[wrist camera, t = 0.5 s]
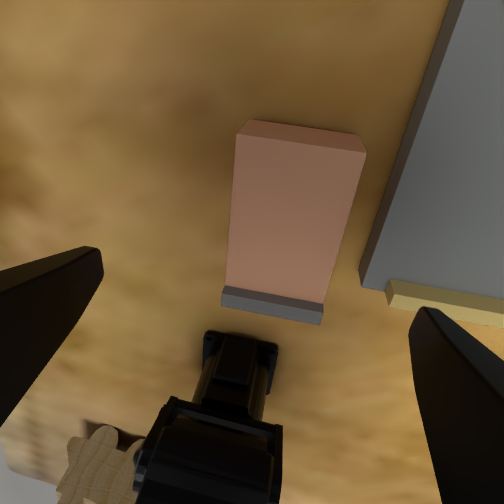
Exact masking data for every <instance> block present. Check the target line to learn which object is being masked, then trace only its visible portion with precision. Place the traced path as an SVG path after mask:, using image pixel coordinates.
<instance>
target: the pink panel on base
mask: <svg viewBox="0 0 504 504" xmlns="http://www.w3.org/2000/svg"><path fill="white" fill-rule="evenodd" d="M366 155H367V152H366V150H365V148H364V145H363V143H362V141H361V138H360V136H359V135H356V134H349V133H342V132H335V131H328V130H321V129H315V128H308V127H301V126H294V125H287V124H280V123H273V122H266V121H260V120H253V119H250V120H249V121H248V122H247V123H246V124H245V125H244V126H243V127H242V128H241V129H240V130H239V131H238V133H237V134H236V146H235V159H234V173H233V186H232V199H231V212H230V225H229V238H228V251H227V265H226V278H225V286H224V289H223V291H222V297H221V306H223V307H228V308H233V309H238V310H243V311H249V312H254V313H259V314H264V315H269V316H274V317H279V318H284V319H289V320H294V321H299V322H305V323H310V324H315V325H320V323H321V319H322V316H323V303H324V300H325V296H326V293H327V289H328V286H329V282H330V279H331V275H332V272H333V269H334V265H335V262H336V258H337V255H338V251H339V248H340V244H341V241H342V238H343V234H344V231H345V227H346V224H347V220H348V217H349V213H350V210H351V207H352V203H353V200H354V196H355V193H356V189H357V186H358V182H359V179H360V176H361V172H362V169H363V165H364V162H365V158H366Z"/></svg>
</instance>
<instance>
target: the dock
mask: <svg viewBox="0 0 504 504" xmlns="http://www.w3.org/2000/svg"><path fill="white" fill-rule="evenodd" d="M358 271H359V276H360V282H361V287H363V288H368V289H374V290H379V291H385V294H386V297H387V301H388V305H389V307H392V308H398V309H403V310H408V311H414V312H418V310H419V308H420V307H422V306H426V307H432V308H437V309H439V310H440V311H442V312H443V313H444V314H445V315H447V316H448V317H449V318H451V319H456V320H461V321H467V322H472V323H477V324H483V325H488V326H493V327H499V328H504V0H450V2H449V5H448V8H447V11H446V14H445V17H444V20H443V23H442V26H441V29H440V32H439V35H438V38H437V40H436V43H435V46H434V49H433V52H432V55H431V58H430V61H429V64H428V67H427V70H426V73H425V76H424V79H423V82H422V85H421V87H420V90H419V93H418V96H417V99H416V102H415V105H414V108H413V111H412V114H411V117H410V120H409V123H408V126H407V129H406V131H405V134H404V137H403V140H402V143H401V146H400V149H399V152H398V155H397V158H396V161H395V164H394V167H393V170H392V173H391V175H390V178H389V181H388V184H387V187H386V190H385V193H384V196H383V199H382V202H381V205H380V208H379V211H378V214H377V217H376V219H375V222H374V225H373V228H372V231H371V234H370V237H369V240H368V243H367V246H366V249H365V252H364V255H363V258H362V261H361V263H360V266H359V269H358Z"/></svg>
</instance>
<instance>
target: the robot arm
mask: <svg viewBox="0 0 504 504" xmlns="http://www.w3.org/2000/svg"><path fill="white" fill-rule="evenodd" d="M103 276H104V269H103V263H102V256H101V252H100V250H99V249H98V248H94V247H89V246H82V247H79V248H75V249H72V250H69V251H65V252H62V253H59V254H55V255H52V256H49V257H45V258H42V259H39V260H35V261H32V262H29V263H25V264H22V265H19V266H15V267H12V268H9V269H5V270H2V271H0V427H1V426H2V424H3V423H4V422H5V420H6V419H7V418H8V416H9V415H10V414H11V412H12V411H13V410H14V408H15V407H16V405H17V404H18V403H19V401H20V400H21V399H22V397H23V396H24V395H25V393H26V392H27V390H28V389H29V388H30V386H31V385H32V384H33V382H34V381H35V380H36V378H37V377H38V376H39V374H40V373H41V371H42V370H43V369H44V367H45V366H46V365H47V363H48V362H49V361H50V359H51V358H52V356H53V355H54V354H55V352H56V351H57V350H58V348H59V347H60V346H61V344H62V343H63V342H64V340H65V339H66V337H67V336H68V335H69V333H70V332H71V331H72V329H73V328H74V326H75V325H76V324H77V322H78V321H79V319H80V317H81V316H82V314H83V312H84V311H85V309H86V307H87V305H88V304H89V302H90V300H91V299H92V297H93V295H94V293H95V292H96V290H97V288H98V286H99V285H100V283H101V281H102V279H103ZM210 337H211V338H210ZM408 337H409V346H410V355H411V363H412V372H413V380H414V387H415V392H416V397H417V401H418V405H419V410H420V414H421V418H422V422H423V426H424V430H425V434H426V439H427V443H428V447H429V451H430V455H431V459H432V463H433V468H434V472H435V476H436V480H437V484H438V488H439V492H440V496H441V501H442V504H504V361H503V360H502V359H501V358H499V357H498V356H497V355H496V354H494V353H493V352H492V351H491V350H489V349H488V348H487V347H486V346H484V345H483V344H482V343H481V342H479V341H478V340H477V339H476V338H474V337H473V336H472V335H471V334H469V333H468V332H467V331H466V330H464V329H463V328H462V327H461V326H459V325H458V324H457V323H455V322H454V321H453V320H452V319H450V318H449V317H448V316H447V315H445V314H444V313H443V312H442V311H440V310H439V309H437V308H432V307H426V306H422V307H420V308H419V310H418V312H417V314H416V316H415V318H414V320H413V322H412V324H411V327H410V329H409V334H408ZM278 350H279V348H278V346H276V345H274V344H270V343H265V342H260V341H255V340H250V339H245V338H240V337H235V336H230V335H226V334H221V333H216V332H211V331H208V332H206V333H205V335H204V338H203V365H202V374H201V376H200V379H199V382H198V385H197V388H196V390H195V393H194V396H193V399H192V402H188V401H184V400H181V399H178V397H174V396H171V397H170V399H169V400H168V402H167V404H164V406H163V407H162V408H161V410H160V412H159V415H158V417H157V419H156V421H155V423H154V425H153V427H152V428H151V430H150V432H149V434H148V435H147V436H146V438H145V439H144V440H143V442H142V443H141V445H140V446H139V447H138V449H137V450H136V452H135V454H134V456H133V463H134V466H135V474H134V481H133V488H132V491H133V492H134V493H137V494H138V496H137V499H136V502H135V504H279V500H280V493H281V484H282V451H283V426H282V425H278V424H275V425H273V424H270V423H266V422H262V417H263V410H264V404H265V397H266V395H268V394H269V393H270V388H271V384H272V379H273V374H274V370H275V365H276V361H277V356H278Z"/></svg>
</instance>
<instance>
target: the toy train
mask: <svg viewBox="0 0 504 504" xmlns="http://www.w3.org/2000/svg"><path fill="white" fill-rule="evenodd" d="M143 440H144V439H139V440H138V441H136V442H134V443H133V444H132V445H131V446H130V448H129V449H128V450H127V451H126V452H123V451H120V450H117V448H118V431H117V430H116V429H115V428H114V427H112V426H106V425H103V426H102V427H100V428H99V429H97V430H96V431H95V432H94V433H93V435H92V436H91V437H90V439H84V438H80V437H72V438H71V439H70V440H69V442H68V444H67V451H68V461H69V467H68V469H67V470H66V472H65V474H64V476H63V477H62V479H61V481H60V483H59V485H58V486H57V488H56V492H57V498H58V503H57V504H135V502H136V499H137V496H138V494H137V493H134V492H133V491H132V488H133V481H134V474H135V466H134V463H133V456H134V454H135V452H136V450H137V449H138V447H139V446H140V445H141V443H142V442H143Z"/></svg>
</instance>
